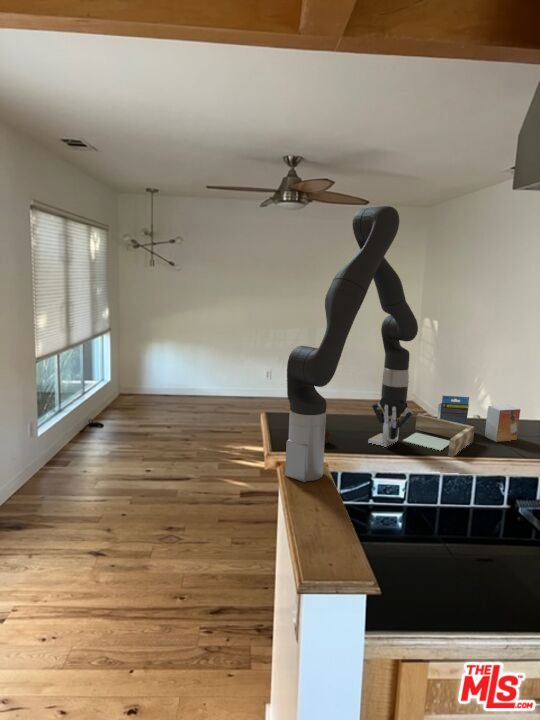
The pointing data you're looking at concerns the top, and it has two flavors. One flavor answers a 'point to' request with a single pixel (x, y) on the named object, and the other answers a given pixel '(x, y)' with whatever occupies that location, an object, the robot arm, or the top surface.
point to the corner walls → (447, 432)
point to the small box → (502, 423)
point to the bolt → (327, 435)
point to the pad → (427, 441)
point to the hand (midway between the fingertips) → (390, 437)
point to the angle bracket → (384, 435)
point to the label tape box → (453, 409)
